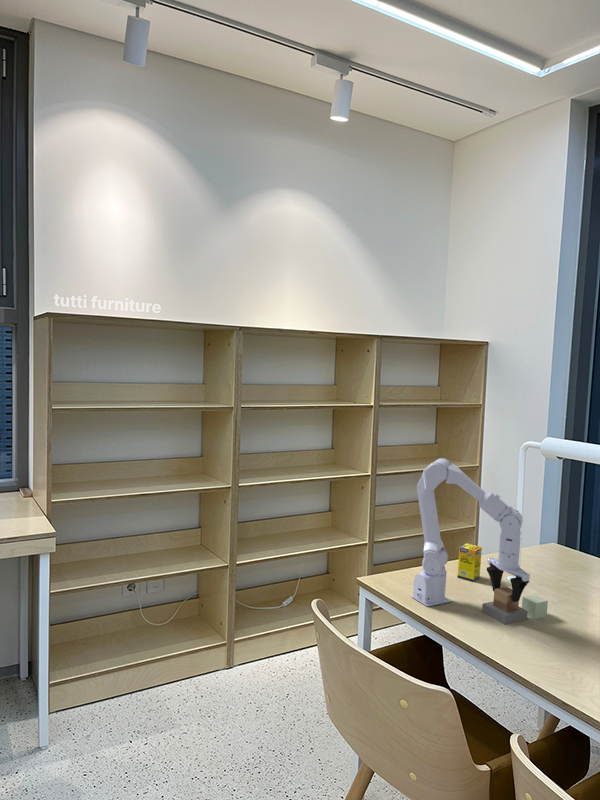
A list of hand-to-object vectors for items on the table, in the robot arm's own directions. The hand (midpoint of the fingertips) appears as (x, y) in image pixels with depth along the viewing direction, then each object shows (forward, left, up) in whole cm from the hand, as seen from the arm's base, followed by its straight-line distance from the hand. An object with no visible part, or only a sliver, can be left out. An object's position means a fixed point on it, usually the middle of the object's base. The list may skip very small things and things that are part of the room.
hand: (505, 596), depth 177 cm
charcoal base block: (0, 0, -6) cm, 6 cm away
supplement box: (+11, +27, -6) cm, 30 cm away
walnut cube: (0, 0, -3) cm, 4 cm away
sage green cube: (+9, -3, -6) cm, 11 cm away
